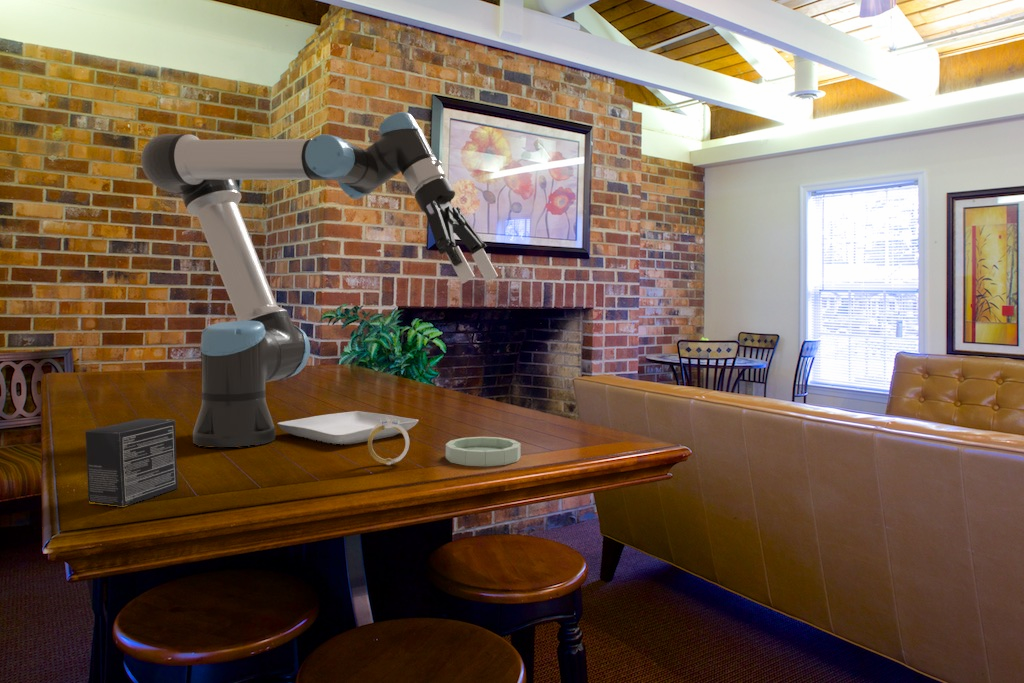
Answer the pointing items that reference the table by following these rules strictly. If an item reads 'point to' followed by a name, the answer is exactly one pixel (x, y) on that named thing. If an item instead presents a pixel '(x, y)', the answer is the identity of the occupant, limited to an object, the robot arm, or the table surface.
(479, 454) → the ring dish
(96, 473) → the small box
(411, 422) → the salad plate
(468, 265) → the robot arm
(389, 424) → the bracelet
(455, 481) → the table surface
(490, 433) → the table surface
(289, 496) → the table surface
